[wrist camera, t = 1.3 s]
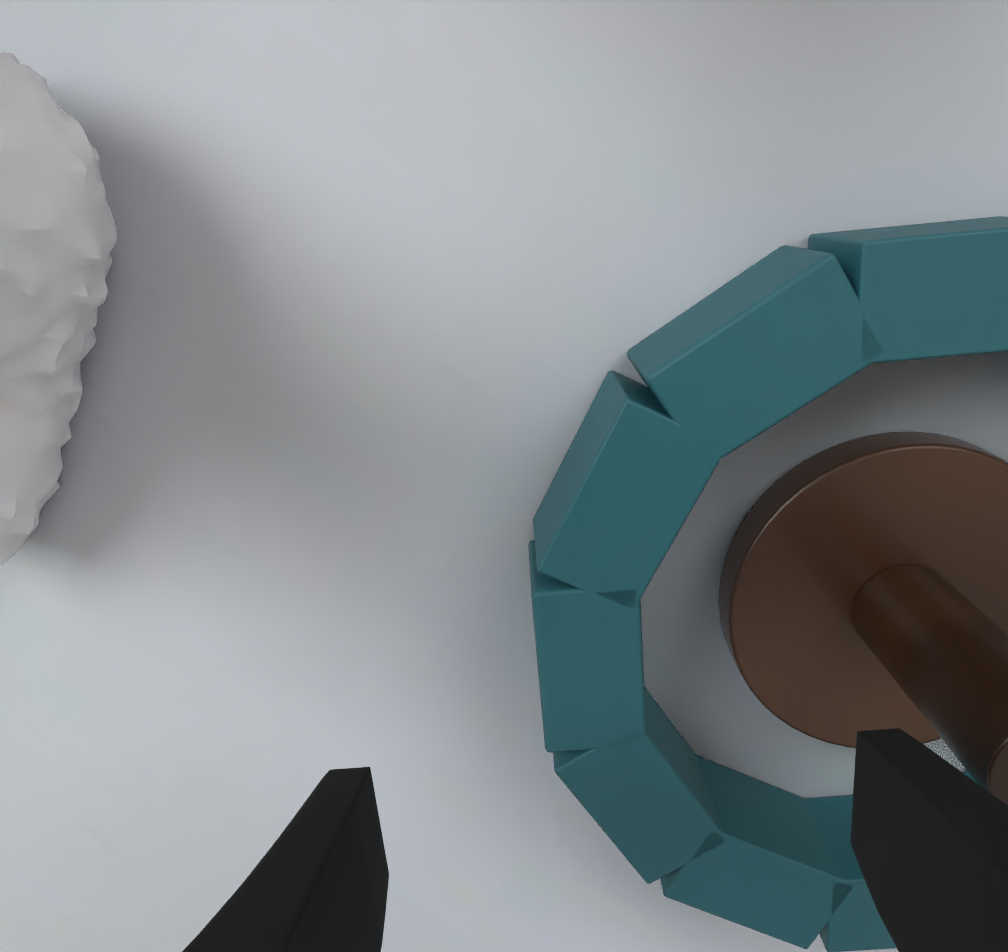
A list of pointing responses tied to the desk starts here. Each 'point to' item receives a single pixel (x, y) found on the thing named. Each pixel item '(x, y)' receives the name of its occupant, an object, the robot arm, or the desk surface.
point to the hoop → (661, 513)
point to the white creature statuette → (43, 288)
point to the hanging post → (880, 597)
